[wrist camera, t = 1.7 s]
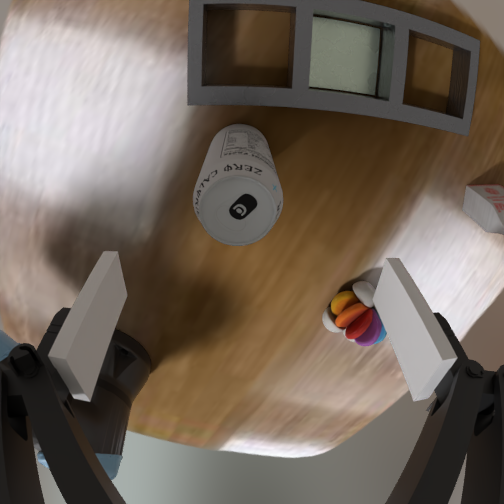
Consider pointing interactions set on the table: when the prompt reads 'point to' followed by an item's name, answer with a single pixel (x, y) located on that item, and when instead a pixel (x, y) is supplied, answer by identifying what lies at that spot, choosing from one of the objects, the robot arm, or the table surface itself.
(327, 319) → the rainbow disc toy
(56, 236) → the table surface
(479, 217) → the white printed box
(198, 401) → the table surface
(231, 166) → the energy drink can
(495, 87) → the table surface
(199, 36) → the rack
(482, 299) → the table surface
